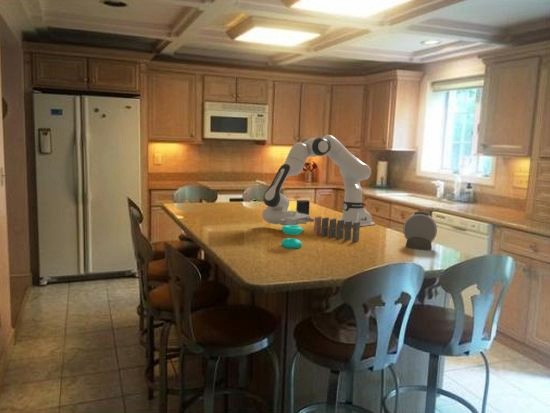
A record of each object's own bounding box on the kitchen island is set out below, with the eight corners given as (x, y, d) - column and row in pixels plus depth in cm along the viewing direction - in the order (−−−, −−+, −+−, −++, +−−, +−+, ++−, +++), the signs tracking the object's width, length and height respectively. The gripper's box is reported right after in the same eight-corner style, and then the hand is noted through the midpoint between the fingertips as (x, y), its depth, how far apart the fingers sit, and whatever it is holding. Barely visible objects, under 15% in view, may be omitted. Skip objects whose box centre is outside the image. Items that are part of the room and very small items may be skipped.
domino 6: (352, 241, 248) (353, 222, 247) (355, 240, 252) (357, 221, 251) (355, 241, 247) (356, 222, 246) (358, 240, 251) (360, 221, 250)
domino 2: (321, 236, 257) (322, 218, 256) (325, 235, 262) (326, 217, 260) (323, 237, 257) (324, 218, 255) (327, 235, 261) (328, 217, 259)
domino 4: (336, 239, 253) (337, 220, 251) (340, 237, 257) (341, 219, 256) (339, 239, 252) (340, 220, 251) (343, 238, 256) (344, 219, 255)
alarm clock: (435, 247, 243) (438, 211, 240) (435, 251, 233) (438, 214, 231) (402, 243, 248) (405, 209, 246) (401, 247, 239) (404, 211, 236)
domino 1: (313, 235, 260) (314, 217, 258) (317, 234, 264) (318, 216, 263) (316, 235, 259) (317, 217, 258) (320, 234, 263) (321, 216, 262)
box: (306, 215, 329) (307, 200, 327) (309, 216, 323) (309, 201, 322) (295, 215, 327) (296, 199, 326) (297, 216, 322) (298, 201, 320)
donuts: (284, 223, 234) (304, 225, 232) (283, 243, 236) (303, 245, 234) (280, 227, 224) (301, 228, 223) (279, 248, 226) (300, 249, 224)
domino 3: (328, 237, 255) (329, 219, 254) (332, 236, 259) (333, 218, 258) (331, 238, 254) (332, 219, 253) (335, 236, 258) (336, 218, 257)
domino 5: (344, 240, 250) (345, 221, 249) (347, 238, 255) (349, 220, 253) (347, 240, 250) (348, 221, 248) (350, 239, 254) (352, 220, 252)
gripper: (278, 214, 261) (301, 217, 254) (297, 211, 278) (318, 213, 271) (278, 226, 262) (300, 229, 255) (296, 221, 279) (317, 224, 272)
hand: (309, 221), depth 263 cm, fingers open, 8 cm apart
